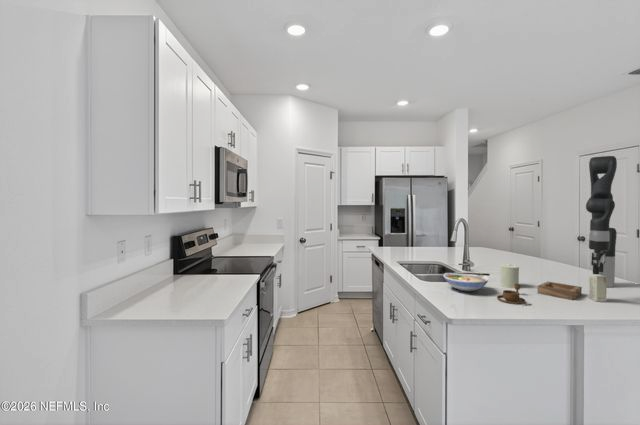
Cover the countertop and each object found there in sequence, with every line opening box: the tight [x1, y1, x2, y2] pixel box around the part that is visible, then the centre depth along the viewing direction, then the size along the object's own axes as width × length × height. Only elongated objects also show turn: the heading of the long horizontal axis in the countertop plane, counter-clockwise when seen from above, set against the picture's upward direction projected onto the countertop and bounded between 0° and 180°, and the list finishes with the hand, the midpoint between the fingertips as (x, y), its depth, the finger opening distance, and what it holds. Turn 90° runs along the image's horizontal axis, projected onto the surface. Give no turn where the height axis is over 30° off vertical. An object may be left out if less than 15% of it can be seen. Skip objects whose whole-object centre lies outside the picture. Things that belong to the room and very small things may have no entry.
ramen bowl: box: [442, 271, 490, 293], centre depth 178 cm, size 25×23×8 cm
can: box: [499, 263, 520, 289], centre depth 187 cm, size 9×9×12 cm
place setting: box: [496, 284, 533, 307], centre depth 161 cm, size 18×20×6 cm
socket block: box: [537, 281, 583, 301], centre depth 171 cm, size 15×15×4 cm
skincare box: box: [588, 273, 607, 303], centre depth 160 cm, size 6×4×12 cm
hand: (598, 273), depth 160 cm, fingers open, 8 cm apart
